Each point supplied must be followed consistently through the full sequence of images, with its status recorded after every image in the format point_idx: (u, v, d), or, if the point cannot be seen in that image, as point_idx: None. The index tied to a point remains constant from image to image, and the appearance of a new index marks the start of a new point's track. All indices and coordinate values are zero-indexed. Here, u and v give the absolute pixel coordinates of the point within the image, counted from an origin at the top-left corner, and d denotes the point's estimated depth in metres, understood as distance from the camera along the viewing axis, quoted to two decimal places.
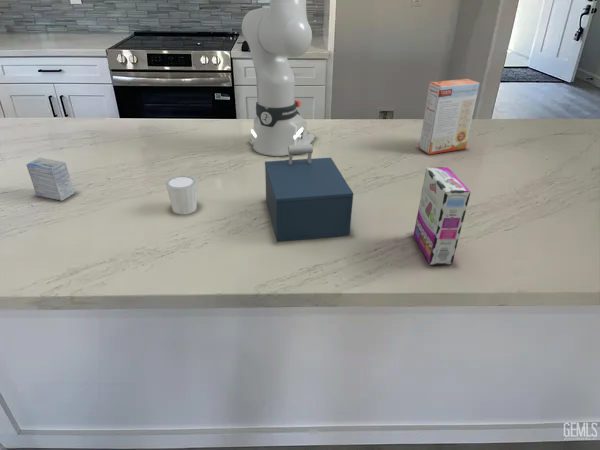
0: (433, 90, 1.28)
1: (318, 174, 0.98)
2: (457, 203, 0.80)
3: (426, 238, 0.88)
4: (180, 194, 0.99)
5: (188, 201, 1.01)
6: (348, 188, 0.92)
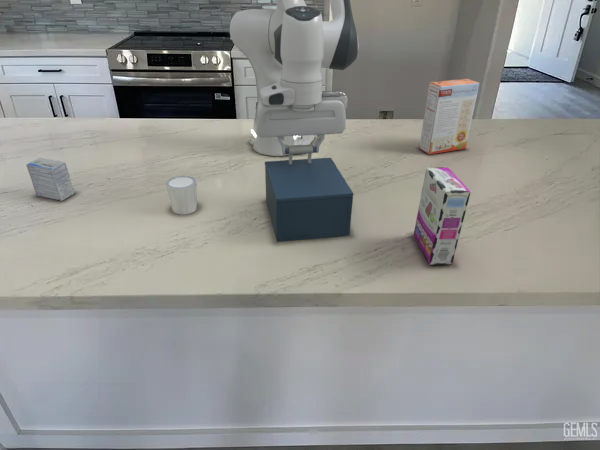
0: (433, 90, 1.28)
1: (318, 174, 0.98)
2: (457, 203, 0.80)
3: (426, 238, 0.88)
4: (180, 194, 0.99)
5: (188, 201, 1.01)
6: (348, 188, 0.92)
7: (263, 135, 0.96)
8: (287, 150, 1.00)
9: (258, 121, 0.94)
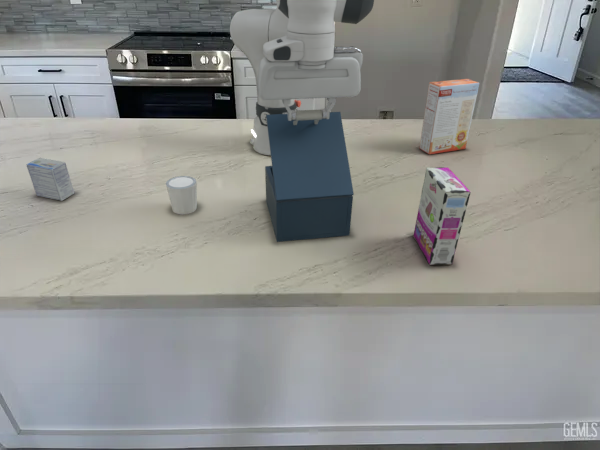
0: (433, 90, 1.28)
1: (323, 150, 0.92)
2: (457, 203, 0.80)
3: (426, 238, 0.88)
4: (180, 194, 0.99)
5: (188, 201, 1.01)
6: (350, 184, 0.91)
7: (267, 97, 0.84)
8: (294, 116, 0.88)
9: (261, 80, 0.82)
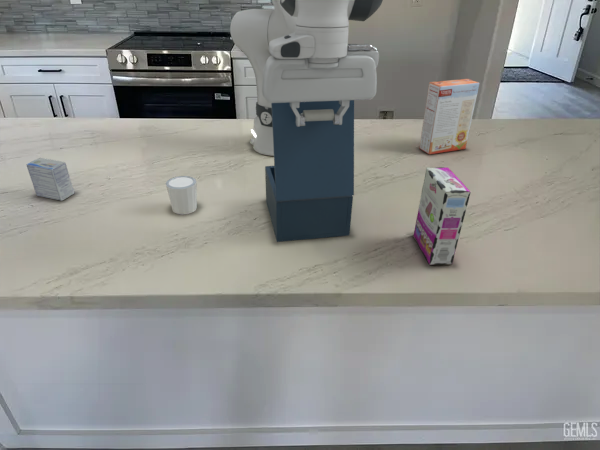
0: (433, 90, 1.28)
1: (329, 146, 0.87)
2: (457, 203, 0.80)
3: (426, 238, 0.88)
4: (180, 194, 0.99)
5: (188, 201, 1.01)
6: (351, 184, 0.90)
7: (273, 99, 0.76)
8: (303, 121, 0.79)
9: (267, 80, 0.73)
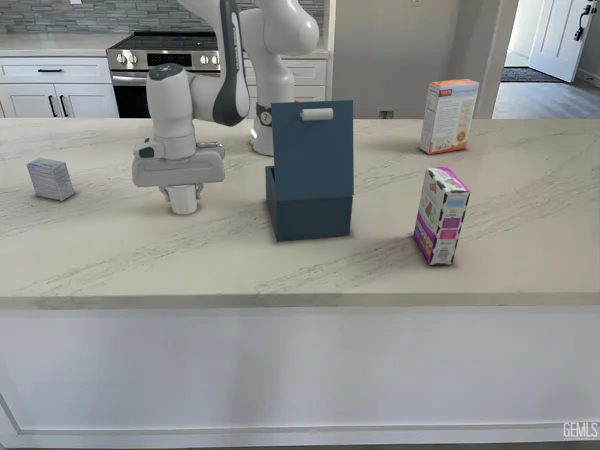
0: (433, 90, 1.28)
1: (329, 146, 0.87)
2: (457, 203, 0.80)
3: (426, 238, 0.88)
4: (180, 194, 0.99)
5: (188, 201, 1.01)
6: (351, 184, 0.90)
7: (140, 185, 0.98)
8: None
9: (133, 173, 0.96)
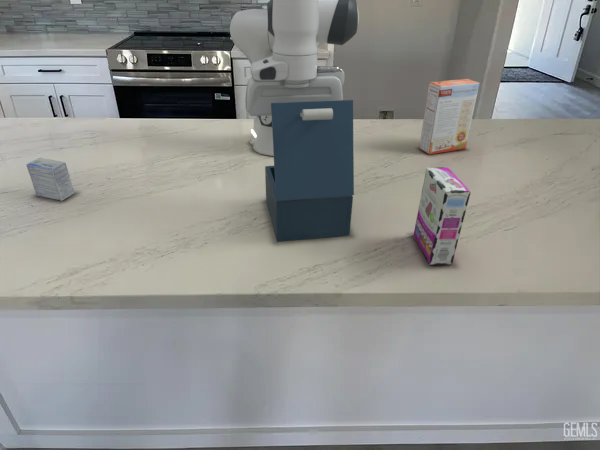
0: (433, 90, 1.28)
1: (329, 146, 0.87)
2: (457, 203, 0.80)
3: (426, 238, 0.88)
4: None
5: None
6: (351, 184, 0.90)
7: (254, 113, 0.89)
8: None
9: (249, 98, 0.87)
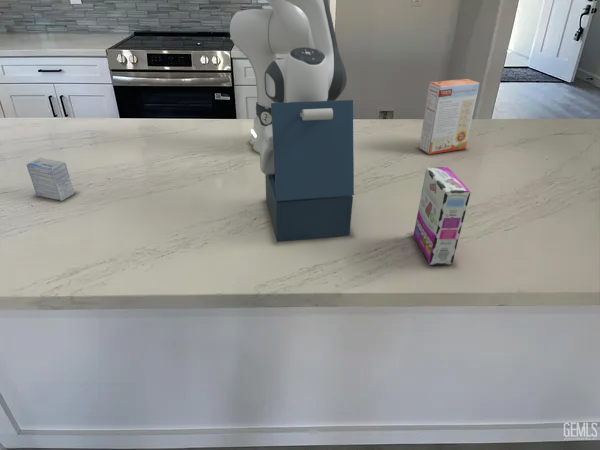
0: (433, 90, 1.28)
1: (329, 146, 0.87)
2: (457, 203, 0.80)
3: (426, 238, 0.88)
4: None
5: None
6: (351, 184, 0.90)
7: (268, 172, 0.96)
8: None
9: (263, 159, 0.94)
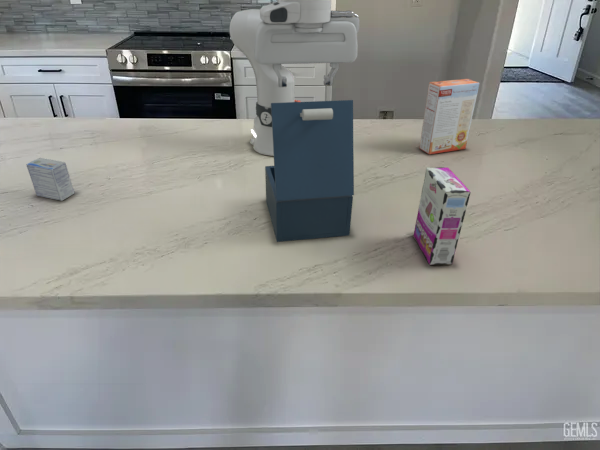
0: (433, 90, 1.28)
1: (329, 146, 0.87)
2: (457, 203, 0.80)
3: (426, 238, 0.88)
4: None
5: None
6: (351, 184, 0.90)
7: (264, 61, 0.84)
8: (284, 82, 0.88)
9: (258, 43, 0.82)
